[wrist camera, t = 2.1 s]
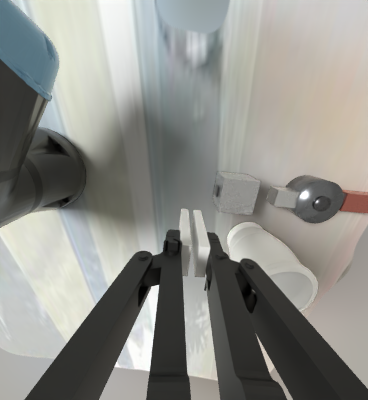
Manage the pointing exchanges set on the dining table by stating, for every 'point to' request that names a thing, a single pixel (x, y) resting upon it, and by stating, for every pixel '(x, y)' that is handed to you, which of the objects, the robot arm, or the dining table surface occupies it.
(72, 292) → the dining table surface
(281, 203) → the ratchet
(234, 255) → the jar
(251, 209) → the grey cube
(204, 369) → the dining table surface
